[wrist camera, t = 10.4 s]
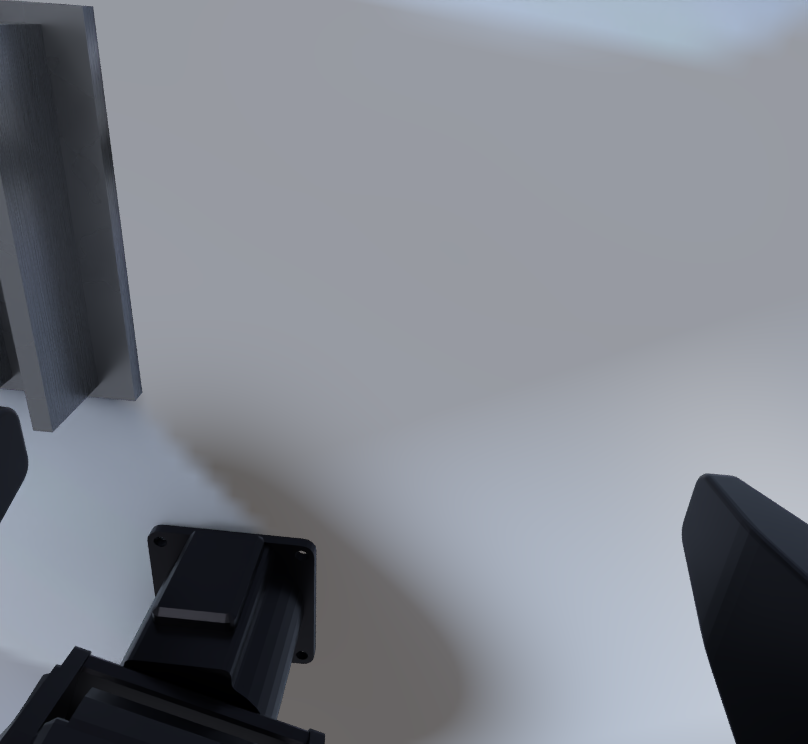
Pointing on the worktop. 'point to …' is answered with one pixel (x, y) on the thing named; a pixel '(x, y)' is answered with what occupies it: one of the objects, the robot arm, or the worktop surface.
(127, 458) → the worktop surface
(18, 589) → the worktop surface
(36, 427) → the offcut rack
